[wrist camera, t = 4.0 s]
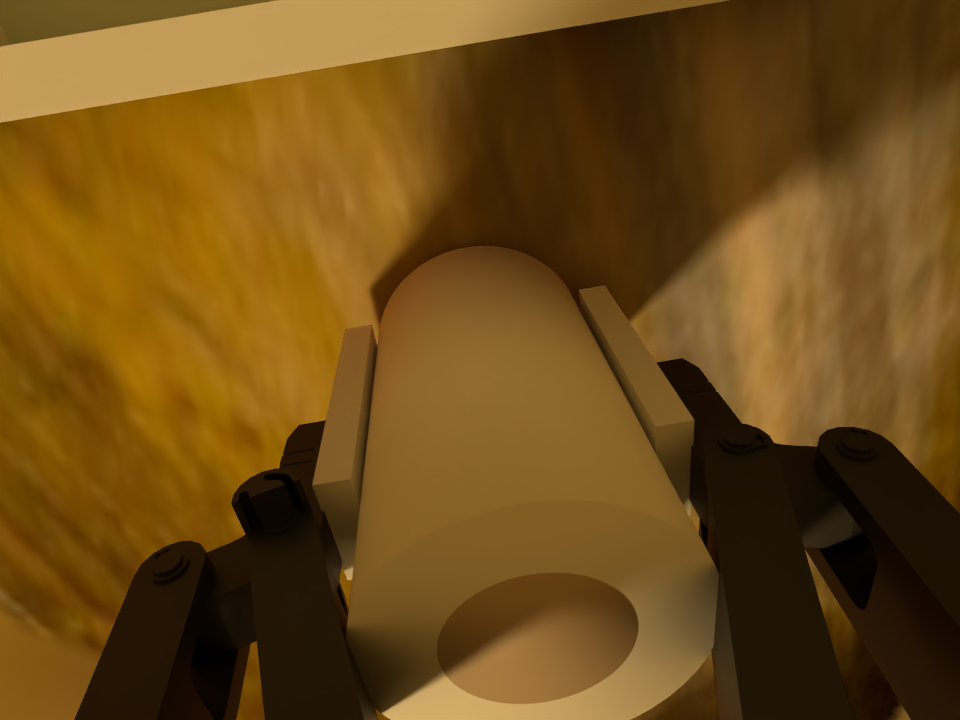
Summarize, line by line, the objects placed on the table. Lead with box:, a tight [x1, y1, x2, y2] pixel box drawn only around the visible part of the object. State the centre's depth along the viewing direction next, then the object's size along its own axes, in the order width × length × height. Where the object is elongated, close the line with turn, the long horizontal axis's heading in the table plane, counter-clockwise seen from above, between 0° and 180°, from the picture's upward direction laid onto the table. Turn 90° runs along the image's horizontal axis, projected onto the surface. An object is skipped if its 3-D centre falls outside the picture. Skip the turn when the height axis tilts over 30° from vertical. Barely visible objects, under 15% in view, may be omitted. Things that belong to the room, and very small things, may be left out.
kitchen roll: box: [346, 246, 719, 720], centre depth 14 cm, size 6×6×10 cm
